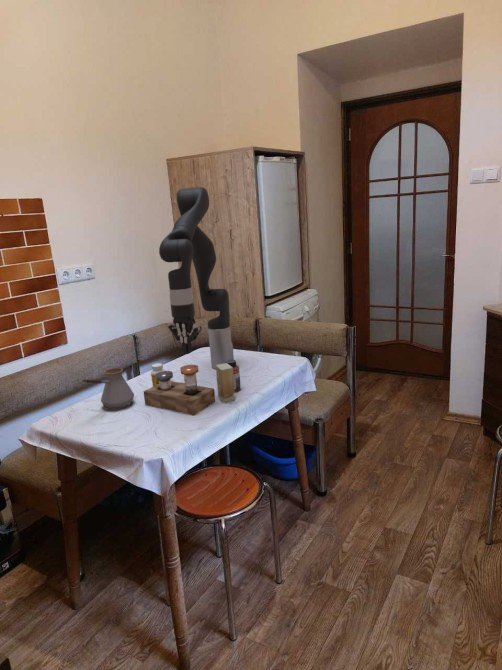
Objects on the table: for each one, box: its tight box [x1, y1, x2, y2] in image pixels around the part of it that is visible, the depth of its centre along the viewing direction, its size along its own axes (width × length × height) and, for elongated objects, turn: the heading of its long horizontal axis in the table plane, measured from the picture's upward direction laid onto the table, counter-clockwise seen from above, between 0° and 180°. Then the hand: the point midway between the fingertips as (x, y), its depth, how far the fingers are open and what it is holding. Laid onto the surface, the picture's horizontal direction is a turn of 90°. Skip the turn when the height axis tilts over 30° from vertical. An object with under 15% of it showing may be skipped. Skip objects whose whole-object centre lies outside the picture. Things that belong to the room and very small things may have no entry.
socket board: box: [142, 380, 216, 416], centre depth 166 cm, size 12×22×5 cm, turn 57°
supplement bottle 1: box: [150, 362, 166, 387], centre depth 181 cm, size 5×5×10 cm
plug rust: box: [179, 364, 200, 396], centre depth 161 cm, size 6×6×10 cm
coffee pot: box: [79, 367, 135, 410], centre depth 163 cm, size 21×12×15 cm, turn 158°
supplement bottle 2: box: [225, 358, 242, 393], centre depth 174 cm, size 6×6×11 cm
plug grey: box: [155, 370, 174, 391], centre depth 168 cm, size 6×6×10 cm
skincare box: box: [215, 363, 236, 403], centre depth 166 cm, size 6×4×12 cm
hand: (187, 353), depth 158 cm, fingers closed
